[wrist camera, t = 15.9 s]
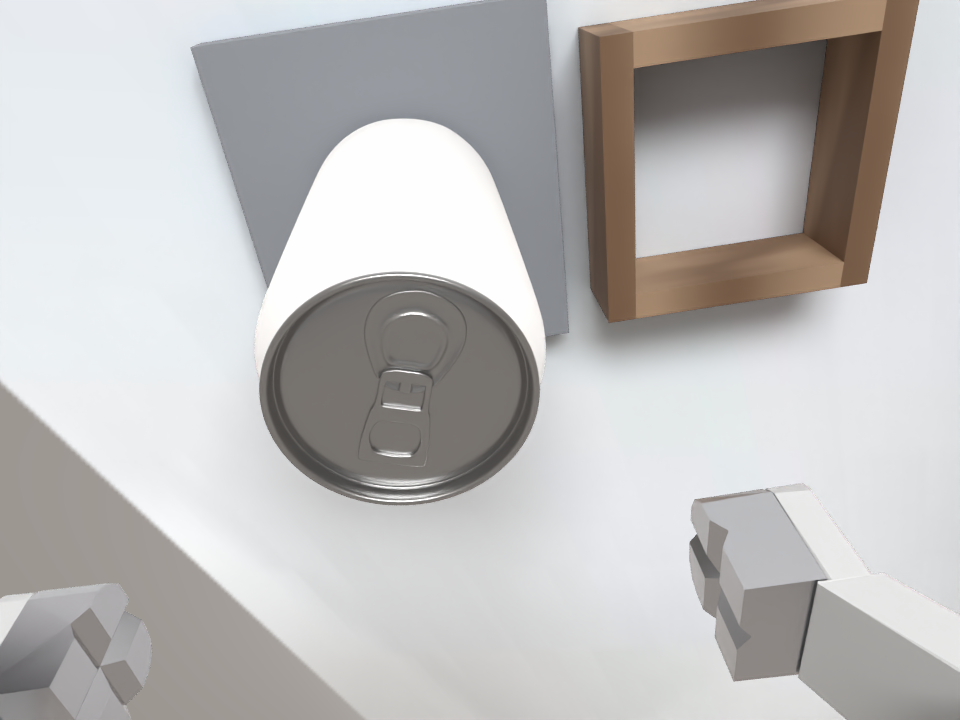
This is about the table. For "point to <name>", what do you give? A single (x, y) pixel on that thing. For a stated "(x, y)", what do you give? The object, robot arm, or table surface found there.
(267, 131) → the coaster
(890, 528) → the table surface
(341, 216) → the can
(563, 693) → the table surface
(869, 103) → the square wooden frame
